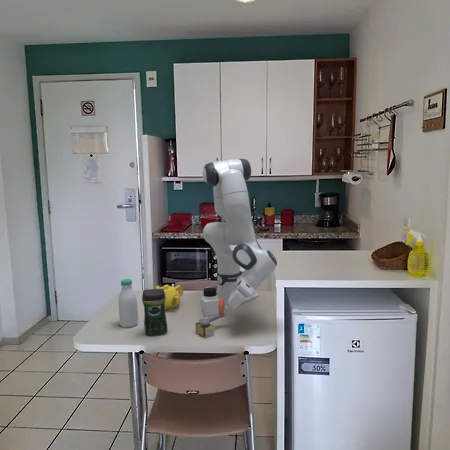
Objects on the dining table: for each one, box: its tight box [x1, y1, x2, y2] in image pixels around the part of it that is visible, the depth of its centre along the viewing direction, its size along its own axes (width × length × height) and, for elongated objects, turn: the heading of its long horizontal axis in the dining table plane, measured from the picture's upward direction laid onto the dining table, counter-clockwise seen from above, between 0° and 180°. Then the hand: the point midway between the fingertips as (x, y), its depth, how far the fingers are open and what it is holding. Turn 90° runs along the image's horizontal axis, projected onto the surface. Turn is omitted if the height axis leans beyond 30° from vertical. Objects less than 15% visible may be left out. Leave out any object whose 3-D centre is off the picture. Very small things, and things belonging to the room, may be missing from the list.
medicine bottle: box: [200, 286, 219, 317], centre depth 196 cm, size 7×7×12 cm
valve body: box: [194, 321, 215, 339], centre depth 175 cm, size 8×5×4 cm, turn 37°
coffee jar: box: [141, 287, 169, 337], centre depth 176 cm, size 10×8×19 cm
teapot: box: [154, 284, 184, 312], centre depth 204 cm, size 20×18×11 cm
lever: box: [198, 298, 226, 326], centre depth 177 cm, size 13×4×8 cm, turn 137°
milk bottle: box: [118, 278, 139, 328], centre depth 184 cm, size 8×8×20 cm
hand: (225, 306), depth 181 cm, fingers closed, pressing on lever
